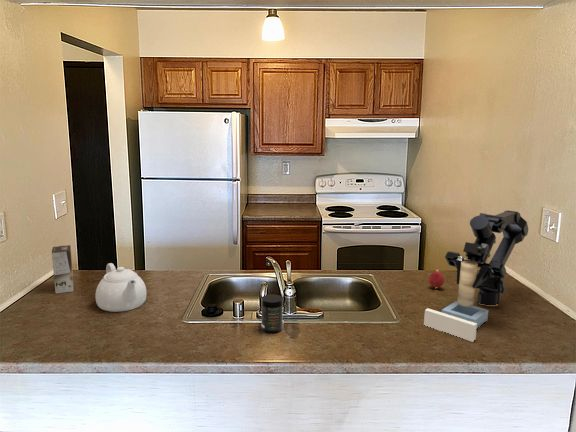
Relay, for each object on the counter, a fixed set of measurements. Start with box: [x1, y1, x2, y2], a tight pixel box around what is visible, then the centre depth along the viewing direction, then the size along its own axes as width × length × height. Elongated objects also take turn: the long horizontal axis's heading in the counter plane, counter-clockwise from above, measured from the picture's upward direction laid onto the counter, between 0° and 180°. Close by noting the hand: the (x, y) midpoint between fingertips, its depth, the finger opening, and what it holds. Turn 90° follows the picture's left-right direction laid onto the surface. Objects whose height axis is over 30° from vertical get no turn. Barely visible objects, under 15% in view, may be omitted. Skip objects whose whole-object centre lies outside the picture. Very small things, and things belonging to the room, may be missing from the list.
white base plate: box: [423, 307, 478, 343], centre depth 150 cm, size 20×16×6 cm
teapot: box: [95, 262, 147, 313], centre depth 164 cm, size 19×18×14 cm
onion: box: [428, 269, 445, 288], centre depth 183 cm, size 6×6×8 cm
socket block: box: [441, 300, 489, 329], centre depth 153 cm, size 11×11×4 cm
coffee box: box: [51, 244, 74, 294], centre depth 176 cm, size 9×6×16 cm
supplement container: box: [260, 293, 284, 334], centre depth 145 cm, size 7×7×10 cm
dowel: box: [456, 261, 479, 307], centre depth 150 cm, size 5×5×14 cm
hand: (465, 285), depth 149 cm, fingers closed on dowel, 5 cm apart
